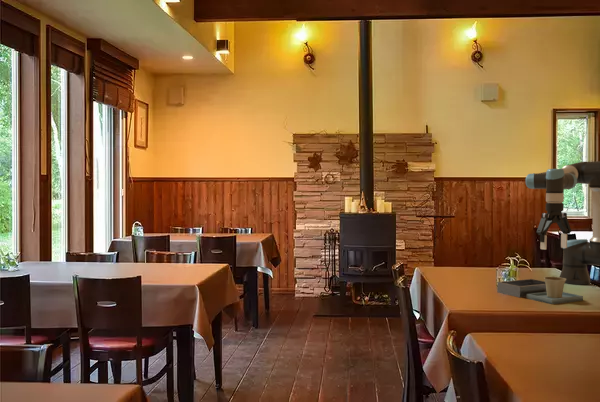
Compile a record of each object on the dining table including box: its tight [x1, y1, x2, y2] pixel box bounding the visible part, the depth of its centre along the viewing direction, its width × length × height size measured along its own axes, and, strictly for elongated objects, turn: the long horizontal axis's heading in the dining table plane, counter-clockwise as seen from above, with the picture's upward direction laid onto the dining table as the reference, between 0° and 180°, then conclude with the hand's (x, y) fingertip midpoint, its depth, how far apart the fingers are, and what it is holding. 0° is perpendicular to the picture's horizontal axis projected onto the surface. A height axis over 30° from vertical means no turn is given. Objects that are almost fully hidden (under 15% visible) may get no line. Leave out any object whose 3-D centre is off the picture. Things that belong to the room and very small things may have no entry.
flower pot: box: [543, 276, 566, 298], centre depth 260 cm, size 9×9×9 cm
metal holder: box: [496, 278, 547, 298], centre depth 275 cm, size 23×14×5 cm, turn 116°
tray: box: [526, 291, 584, 305], centre depth 261 cm, size 20×14×2 cm
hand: (553, 248), depth 262 cm, fingers open, 13 cm apart
